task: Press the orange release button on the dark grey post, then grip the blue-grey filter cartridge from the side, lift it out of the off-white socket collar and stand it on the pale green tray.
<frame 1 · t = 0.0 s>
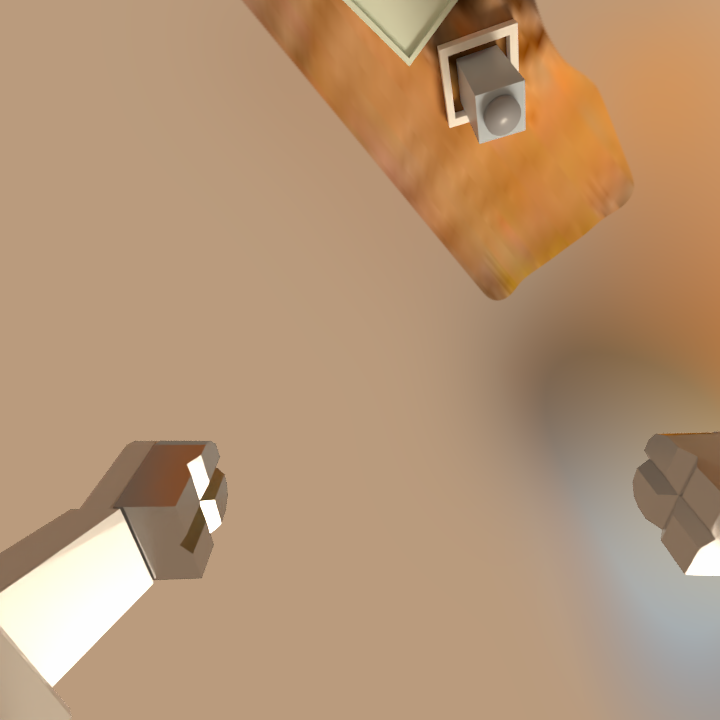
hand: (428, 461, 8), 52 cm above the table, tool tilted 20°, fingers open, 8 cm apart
socket collar: (477, 74, 48), on the table
cartridge: (489, 93, 44), in the socket collar
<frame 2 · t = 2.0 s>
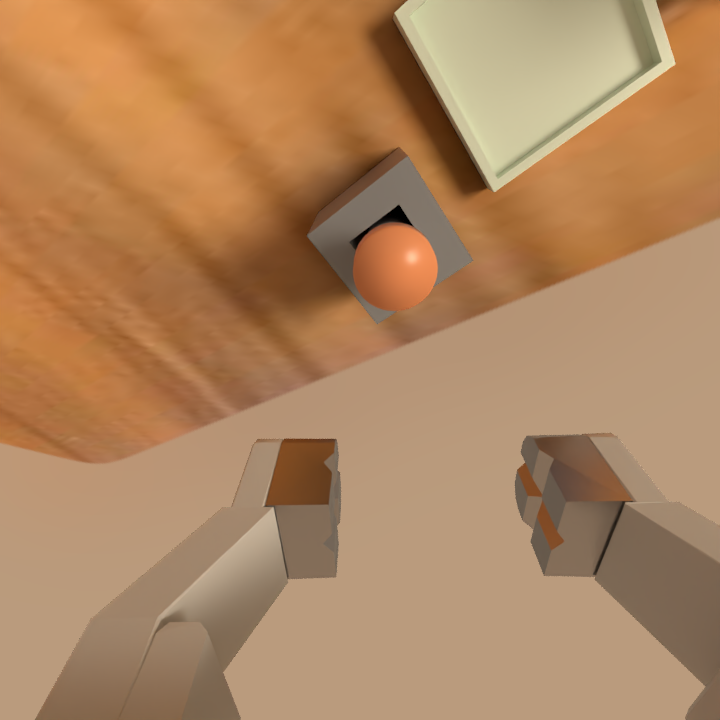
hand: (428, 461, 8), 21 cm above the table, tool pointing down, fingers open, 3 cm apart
button post: (386, 222, 26), on the table
tray: (527, 43, 22), on the table
release button: (391, 253, 20), point 7 cm above the table, slide at 0.0 cm
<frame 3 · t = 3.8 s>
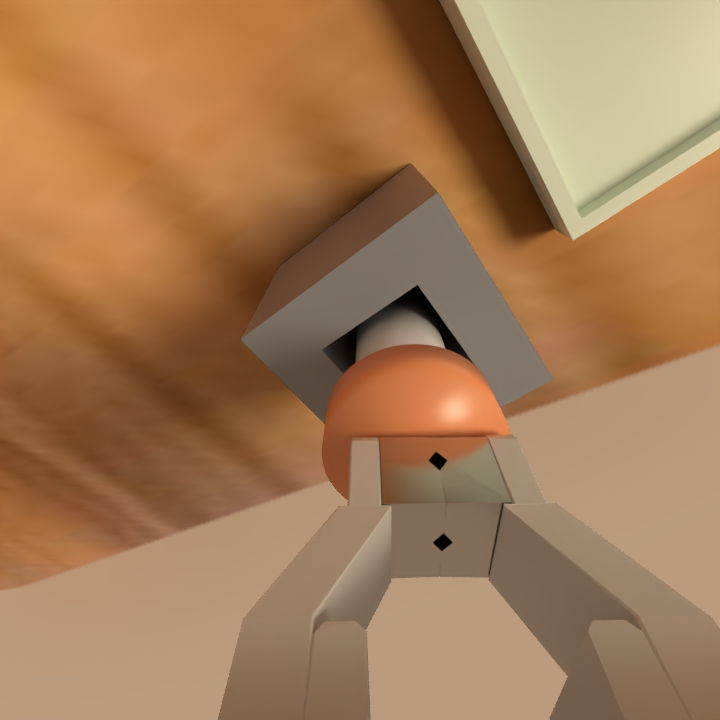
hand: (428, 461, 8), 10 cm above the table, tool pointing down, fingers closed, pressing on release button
button post: (388, 281, 16), on the table
release button: (403, 376, 11), point 7 cm above the table, slide at 0.1 cm, touching gripper
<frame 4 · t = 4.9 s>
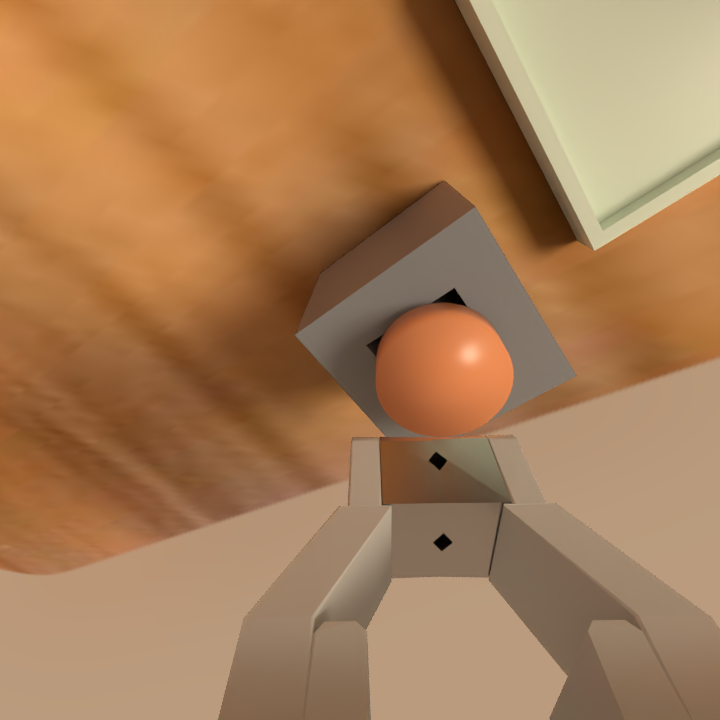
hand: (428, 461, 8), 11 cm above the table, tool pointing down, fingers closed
button post: (420, 288, 18), on the table
tray: (665, 13, 13), on the table
release button: (432, 336, 14), point 5 cm above the table, slide at 2.2 cm
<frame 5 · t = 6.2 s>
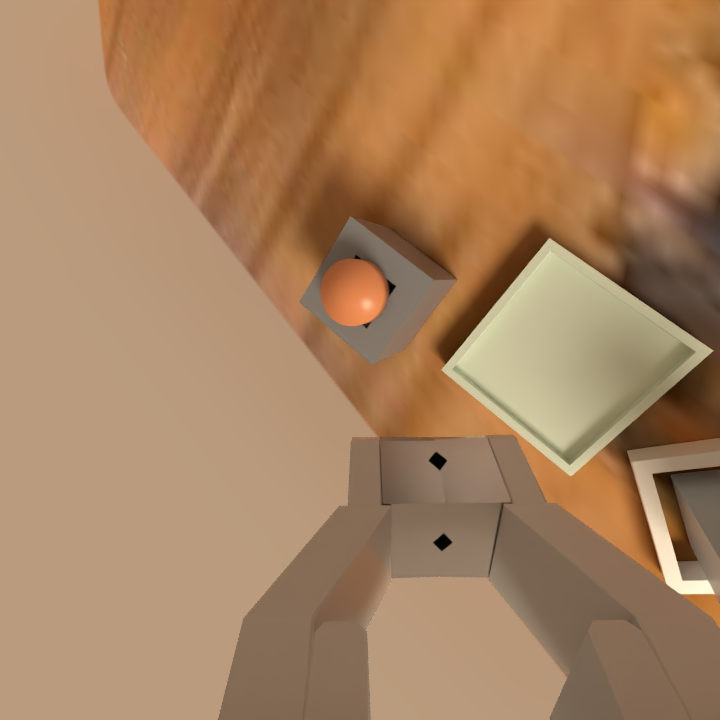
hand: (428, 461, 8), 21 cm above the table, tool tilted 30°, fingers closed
button post: (396, 289, 30), on the table
tray: (560, 357, 26), on the table
release button: (370, 291, 25), point 5 cm above the table, slide at 2.2 cm
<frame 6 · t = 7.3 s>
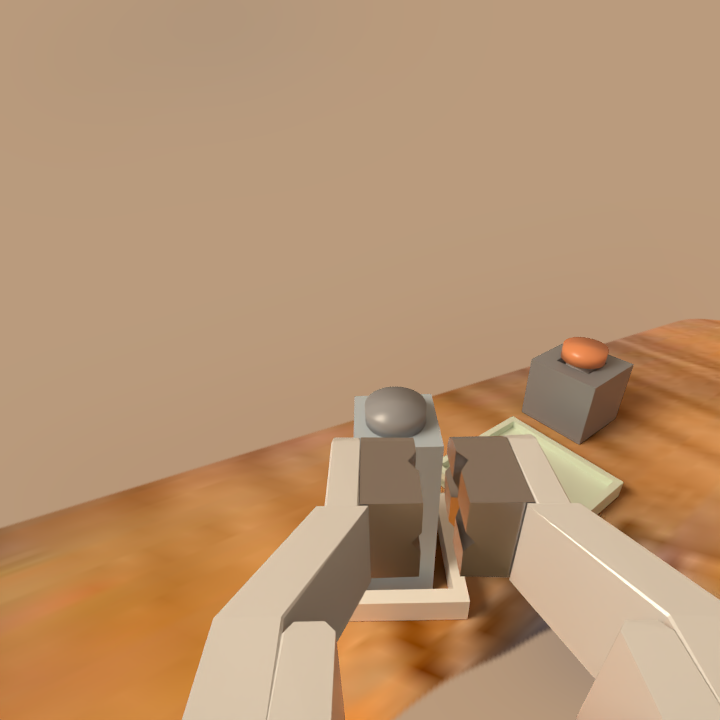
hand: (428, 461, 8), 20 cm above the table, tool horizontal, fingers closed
button post: (567, 414, 41), on the table
tray: (521, 486, 34), on the table
socket collar: (395, 558, 29), on the table
cartridge: (395, 491, 25), in the socket collar
release button: (578, 374, 39), point 5 cm above the table, slide at 2.2 cm
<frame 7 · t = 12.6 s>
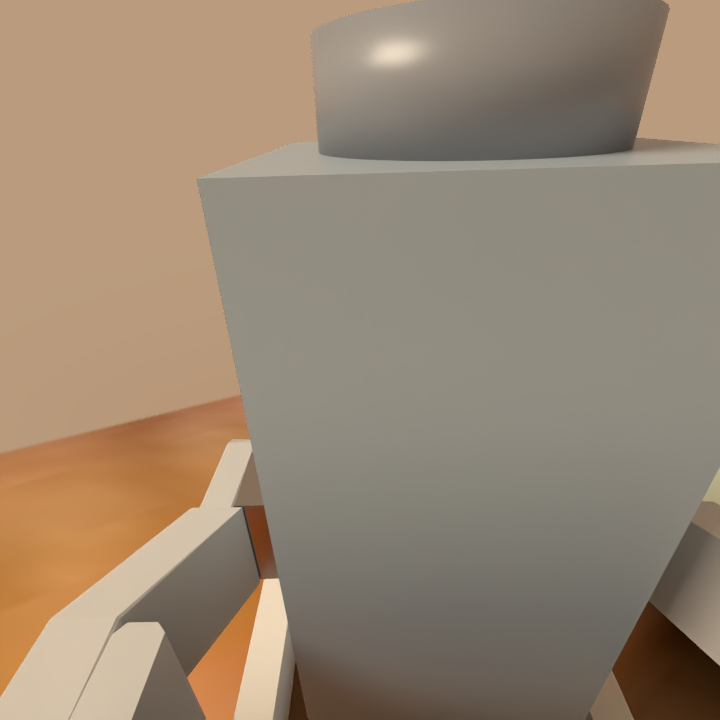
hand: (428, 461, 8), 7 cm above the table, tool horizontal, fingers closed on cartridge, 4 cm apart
tray: (684, 490, 16), on the table
socket collar: (419, 680, 11), on the table
cartridge: (435, 499, 7), in the socket collar, touching gripper
when the fingers open (8 cm above the table, at t = 18.5 s): cartridge stays where it is, resting on tray.
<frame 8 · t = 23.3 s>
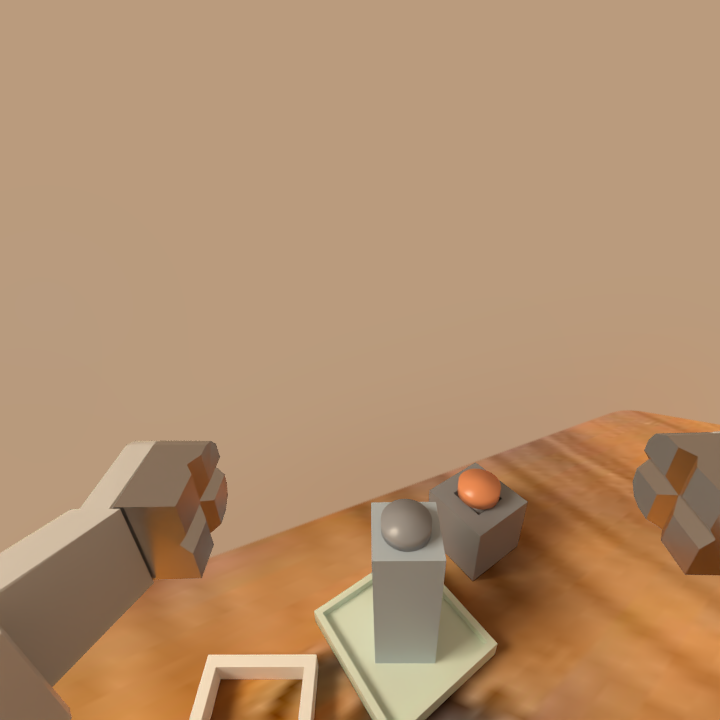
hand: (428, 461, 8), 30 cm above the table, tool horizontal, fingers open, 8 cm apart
button post: (471, 539, 41), on the table
tray: (401, 637, 33), on the table
cartridge: (404, 581, 30), point 7 cm above the table, touching tray
release button: (476, 506, 38), point 5 cm above the table, slide at 2.2 cm
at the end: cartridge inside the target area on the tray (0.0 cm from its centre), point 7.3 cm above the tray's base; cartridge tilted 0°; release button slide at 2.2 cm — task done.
